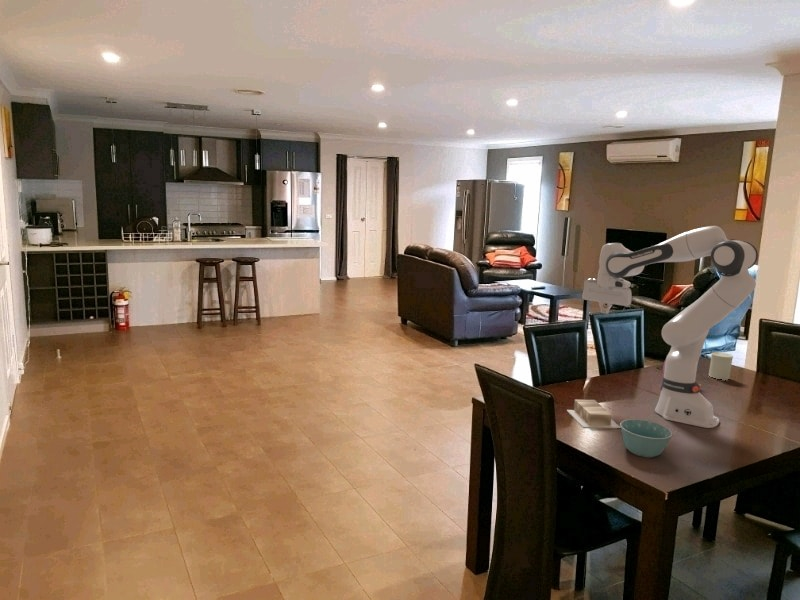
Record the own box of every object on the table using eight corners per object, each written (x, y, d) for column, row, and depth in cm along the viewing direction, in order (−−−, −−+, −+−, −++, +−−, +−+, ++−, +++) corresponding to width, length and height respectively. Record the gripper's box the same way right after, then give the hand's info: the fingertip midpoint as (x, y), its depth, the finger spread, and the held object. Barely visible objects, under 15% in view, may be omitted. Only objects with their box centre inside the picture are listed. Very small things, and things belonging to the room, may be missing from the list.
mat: (566, 410, 228) (566, 409, 228) (601, 411, 229) (601, 410, 229) (582, 427, 211) (583, 426, 211) (620, 428, 212) (620, 427, 212)
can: (713, 373, 292) (716, 350, 290) (732, 378, 285) (736, 354, 283) (704, 376, 286) (708, 352, 284) (724, 381, 279) (728, 357, 277)
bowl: (678, 462, 185) (682, 438, 184) (630, 462, 184) (634, 437, 183) (653, 442, 201) (656, 419, 199) (609, 441, 200) (612, 418, 198)
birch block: (574, 399, 228) (590, 414, 212) (594, 399, 229) (611, 414, 213) (573, 409, 229) (589, 424, 213) (593, 409, 229) (610, 425, 214)
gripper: (581, 278, 252) (578, 310, 254) (629, 284, 239) (625, 317, 241) (587, 277, 257) (584, 308, 259) (634, 283, 244) (630, 316, 246)
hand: (604, 313), depth 250 cm, fingers closed
